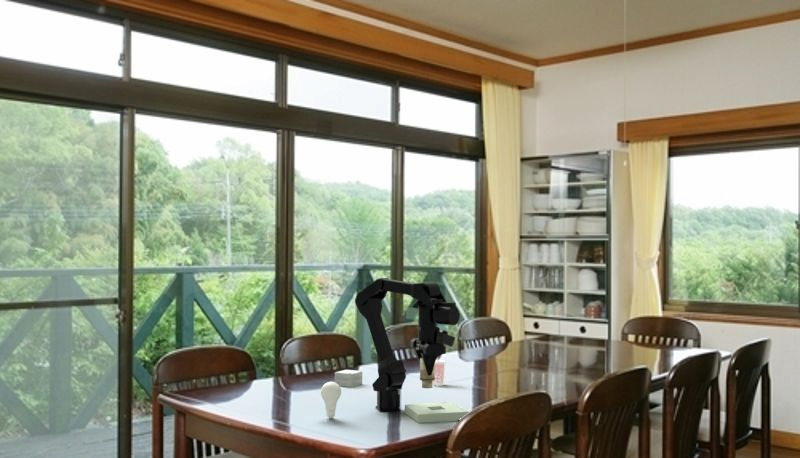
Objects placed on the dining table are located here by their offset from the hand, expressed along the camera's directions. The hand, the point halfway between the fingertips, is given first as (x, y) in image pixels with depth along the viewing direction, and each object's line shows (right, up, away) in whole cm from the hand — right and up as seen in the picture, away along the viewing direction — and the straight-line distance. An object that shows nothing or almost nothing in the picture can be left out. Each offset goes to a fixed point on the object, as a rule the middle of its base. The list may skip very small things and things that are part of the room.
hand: (427, 374), depth 229 cm
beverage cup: (+6, -15, +55) cm, 57 cm away
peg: (0, -4, 0) cm, 4 cm away
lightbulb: (-29, -13, -3) cm, 32 cm away
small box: (-28, -15, +53) cm, 62 cm away
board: (+3, -13, +1) cm, 13 cm away
